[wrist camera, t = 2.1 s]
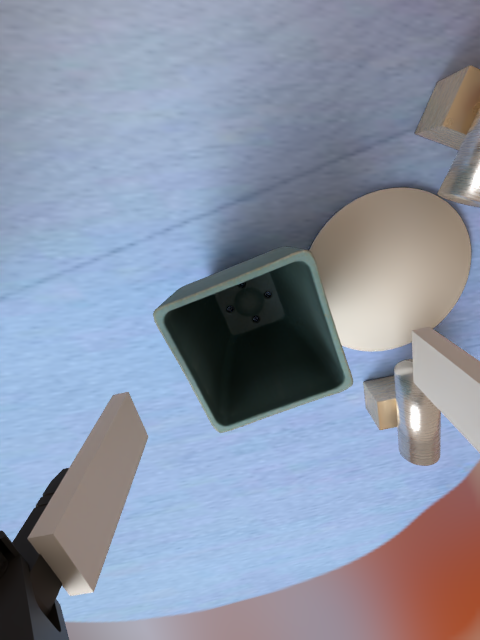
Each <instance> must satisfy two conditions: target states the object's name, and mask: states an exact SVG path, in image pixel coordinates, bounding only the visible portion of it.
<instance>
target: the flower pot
mask: <svg viewBox="0 0 480 640" xmlns="http://www.w3.org/2000/svg"><path fill="white" fill-rule="evenodd" d="M243 282H244V283H245V285H244V286H243V287H240V286H239V285H238V284H241V283H243ZM267 291H269V292H270V293H271V296H270V297H266V296H265V292H267ZM229 306H232V307H233V308H234V310H233V311H232V312H229V311H228V310H227V308H228V307H229ZM153 316H154V320H155V323H156V325H157V327H158V329H159V330H160V332H161V334H162V335H163V337H164V339H165V341H166V343H167V344H168V346H169V348H170V349H171V351H172V353H173V354H174V356H175V358H176V360H177V361H178V363H179V365H180V367H181V369H182V371H183V372H184V374H185V376H186V378H187V379H188V381H189V383H190V385H191V387H192V389H193V391H194V392H195V394H196V396H197V398H198V400H199V402H200V404H201V405H202V408H203V409H204V411H205V413H206V415H207V417H208V419H209V420H210V422H211V424H212V426H213V427H214V428H215V429H216V430H217V431H218V432H220V433H223V432H227V431H230V430H234V429H236V428H239V427H242V426H245V425H247V424H251V423H253V422H255V421H257V420H261V419H263V418H266V417H269V416H272V415H274V414H278V413H280V412H283V411H286V410H289V409H291V408H295V407H297V406H300V405H303V404H306V403H309V402H311V401H315V400H317V399H320V398H323V397H326V396H330V395H333V394H336V393H340V392H342V391H344V390H346V389H348V388H349V387H350V386H352V384H353V378H352V375H351V371H350V369H349V366H348V363H347V360H346V357H345V354H344V351H343V348H342V345H341V342H340V339H339V336H338V333H337V330H336V326H335V323H334V320H333V317H332V314H331V311H330V308H329V304H328V301H327V298H326V295H325V291H324V288H323V284H322V280H321V278H320V273H319V270H318V267H317V263H316V260H315V258H314V256H313V254H312V252H311V251H309V250H304V249H299V248H293V247H279V248H276V249H274V250H271V251H269V252H266V253H264V254H262V255H259V256H257V257H254V258H252V259H250V260H247V261H245V262H242V263H240V264H237V265H235V266H232V267H230V268H228V269H225V270H223V271H220V272H218V273H215V274H213V275H210V276H208V277H205V278H203V279H200V280H198V281H195V282H193V283H190V284H188V285H185V286H183V287H181V288H180V289H178V290H177V291H176V292H175V293H174V294H172V295H171V296H170V297H169V298H168V299H167V300H166V301H165V302H163V303H162V304H161V305H160V306H159V307H158V308H157V309H155V311H154V313H153ZM254 316H258V317H259V320H258V321H257V322H255V321H253V317H254Z"/></svg>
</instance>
